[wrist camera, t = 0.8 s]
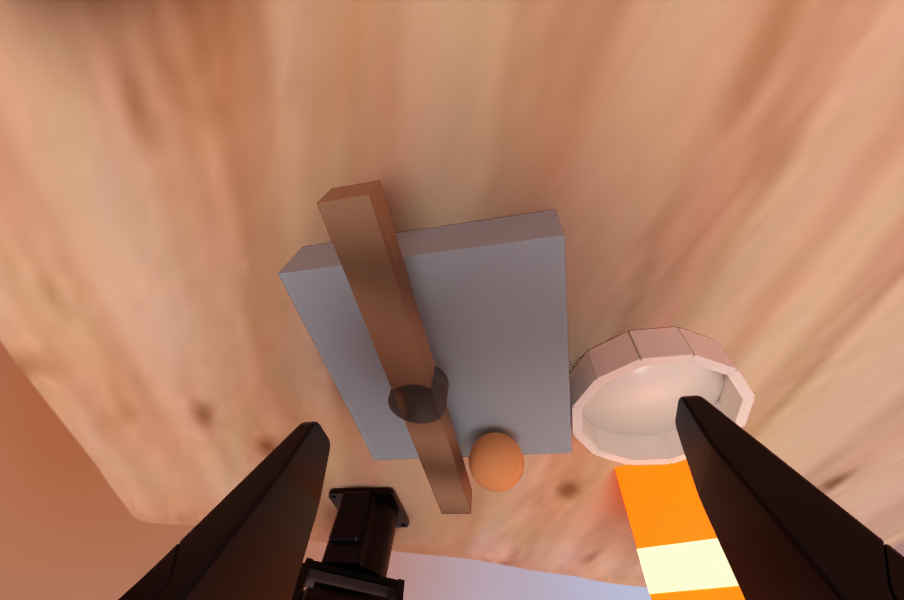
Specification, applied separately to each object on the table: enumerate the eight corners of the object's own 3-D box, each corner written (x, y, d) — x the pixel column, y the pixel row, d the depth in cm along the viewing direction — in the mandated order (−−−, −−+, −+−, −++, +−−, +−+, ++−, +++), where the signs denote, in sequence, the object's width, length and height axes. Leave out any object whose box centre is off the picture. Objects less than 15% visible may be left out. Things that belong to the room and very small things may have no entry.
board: (564, 416, 28) (573, 464, 25) (383, 425, 30) (371, 470, 27) (555, 209, 19) (567, 242, 16) (302, 246, 22) (270, 282, 18)
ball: (524, 452, 26) (528, 502, 23) (474, 453, 26) (472, 503, 24) (519, 419, 24) (523, 470, 21) (466, 422, 25) (463, 472, 22)
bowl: (714, 431, 27) (731, 462, 25) (568, 437, 29) (573, 467, 27) (747, 320, 22) (772, 348, 20) (564, 336, 24) (571, 363, 22)
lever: (479, 490, 27) (478, 513, 25) (437, 490, 27) (434, 514, 26) (392, 178, 15) (381, 192, 13) (320, 190, 15) (303, 205, 14)
